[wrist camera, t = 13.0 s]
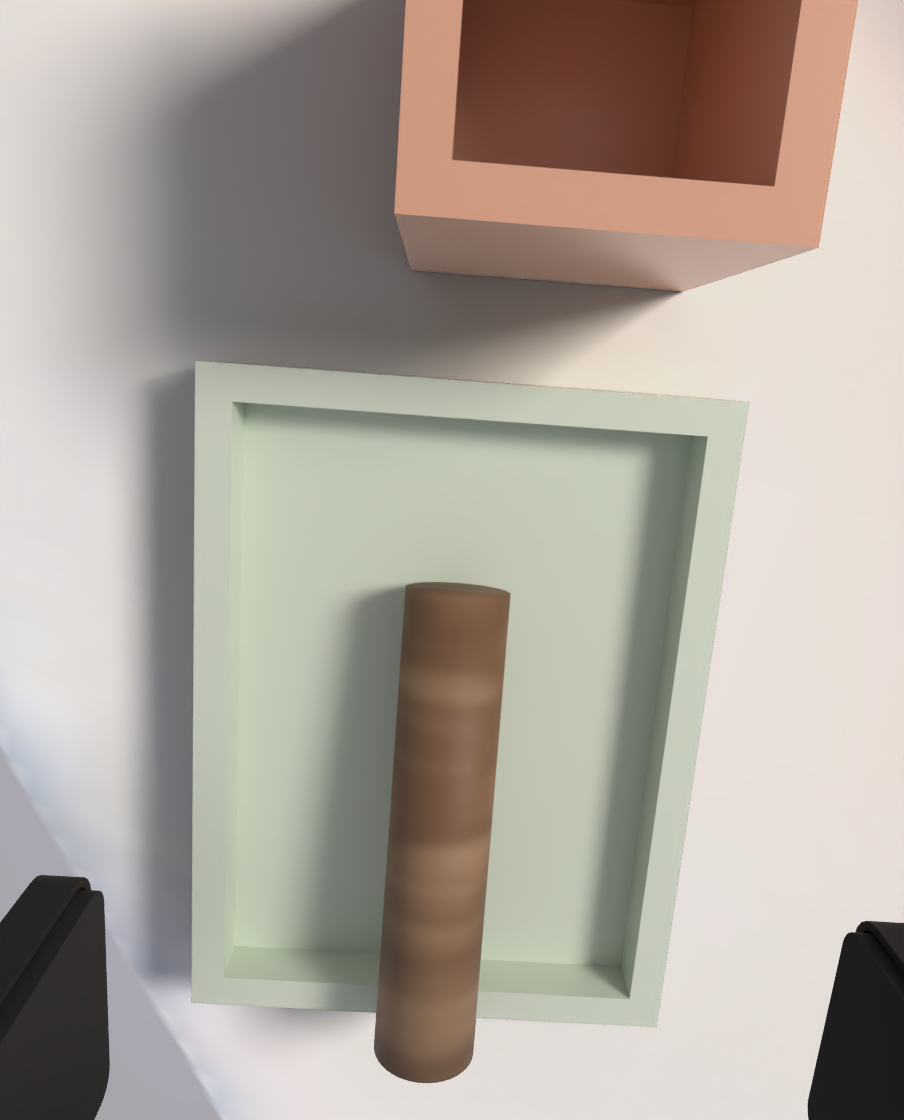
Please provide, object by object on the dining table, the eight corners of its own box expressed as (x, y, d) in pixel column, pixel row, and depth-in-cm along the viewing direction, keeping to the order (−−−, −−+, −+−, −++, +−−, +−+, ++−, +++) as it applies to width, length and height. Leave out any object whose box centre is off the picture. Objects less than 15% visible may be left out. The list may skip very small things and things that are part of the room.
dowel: (406, 557, 23) (359, 1155, 19) (517, 564, 23) (489, 1162, 19) (408, 608, 30) (375, 1047, 27) (492, 614, 30) (469, 1053, 27)
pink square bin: (429, -42, 23) (422, -303, 14) (722, -16, 23) (899, -257, 14) (410, 269, 24) (394, 213, 16) (683, 291, 25) (818, 247, 16)
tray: (219, 361, 25) (195, 360, 22) (719, 399, 25) (749, 402, 23) (212, 950, 29) (191, 1002, 27) (638, 973, 30) (656, 1027, 27)
